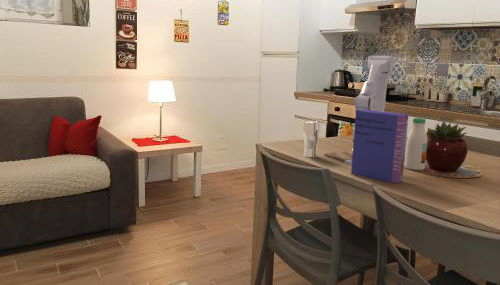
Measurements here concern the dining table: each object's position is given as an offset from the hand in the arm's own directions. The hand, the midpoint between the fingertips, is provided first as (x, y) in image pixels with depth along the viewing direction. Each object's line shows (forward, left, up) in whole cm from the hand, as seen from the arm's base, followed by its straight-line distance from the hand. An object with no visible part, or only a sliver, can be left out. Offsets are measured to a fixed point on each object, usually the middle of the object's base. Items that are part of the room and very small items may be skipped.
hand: (359, 157), depth 182 cm
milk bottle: (-16, +14, -3) cm, 22 cm away
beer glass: (+11, -19, -3) cm, 22 cm away
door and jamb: (-4, -4, -2) cm, 6 cm away
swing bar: (-3, -2, -1) cm, 3 cm away
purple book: (+9, +19, -3) cm, 21 cm away
